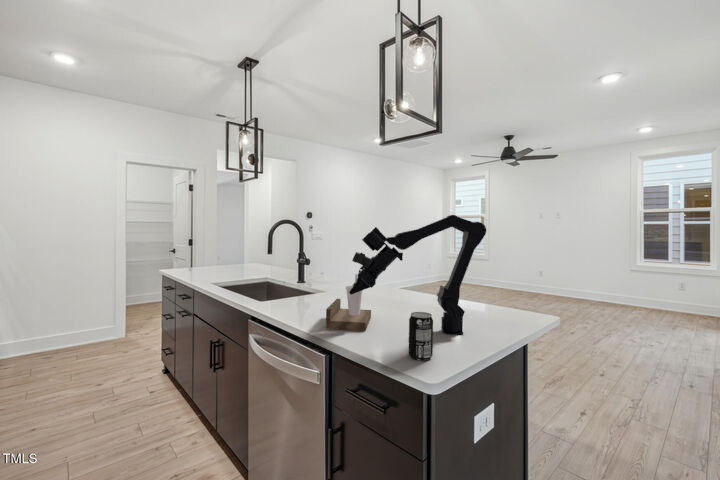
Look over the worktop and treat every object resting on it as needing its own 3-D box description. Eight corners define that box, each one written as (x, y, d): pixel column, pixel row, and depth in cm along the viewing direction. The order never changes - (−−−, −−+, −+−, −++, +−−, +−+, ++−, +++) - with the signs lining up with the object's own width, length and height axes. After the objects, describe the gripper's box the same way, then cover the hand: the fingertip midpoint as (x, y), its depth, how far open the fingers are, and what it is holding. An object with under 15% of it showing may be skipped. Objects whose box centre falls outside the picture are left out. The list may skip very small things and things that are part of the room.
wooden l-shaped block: (371, 317, 134) (371, 300, 133) (365, 331, 116) (365, 311, 116) (336, 315, 136) (336, 298, 135) (326, 329, 118) (326, 309, 117)
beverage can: (415, 350, 98) (416, 310, 98) (436, 356, 94) (437, 314, 94) (404, 357, 93) (404, 314, 93) (425, 363, 89) (426, 318, 88)
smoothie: (356, 316, 113) (356, 275, 113) (341, 314, 116) (342, 274, 117) (366, 313, 118) (367, 274, 118) (352, 311, 122) (352, 273, 122)
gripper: (366, 242, 126) (337, 271, 127) (365, 245, 107) (331, 279, 108) (387, 263, 126) (357, 292, 127) (389, 270, 107) (355, 304, 108)
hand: (350, 291), depth 117 cm, fingers closed on smoothie, 6 cm apart
